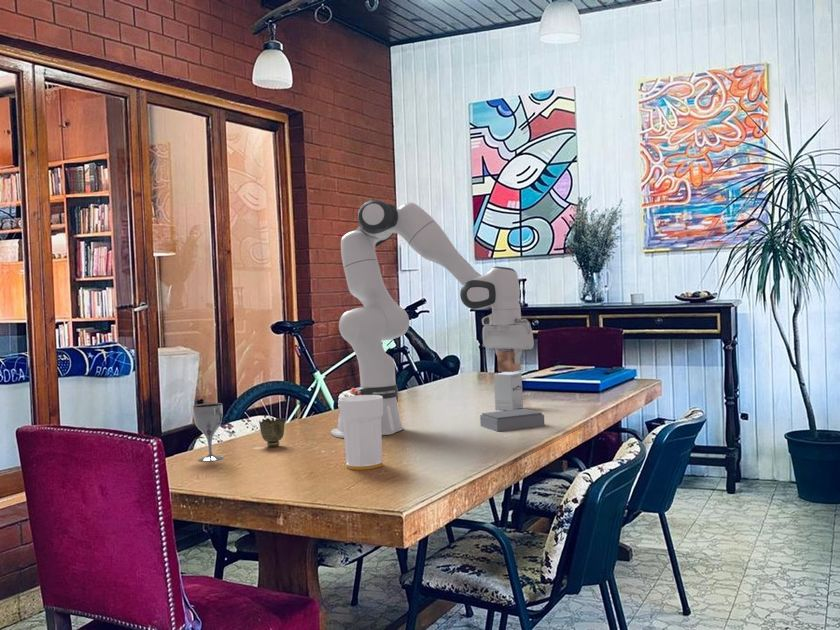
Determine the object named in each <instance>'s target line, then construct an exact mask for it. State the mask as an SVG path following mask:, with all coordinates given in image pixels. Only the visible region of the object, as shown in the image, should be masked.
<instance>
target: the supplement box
mask: <svg viewBox="0 0 840 630" xmlns="http://www.w3.org/2000/svg"><path fill="white" fill-rule="evenodd" d="M522 378H523V377H522V372H520V371H519V372H518V371H513V372H499V373H495V374H493V386H494V387H493V388H494V389H493V390H494V409H495V410H496V411H507V410H516V409H524V408H523V407H524V406H523V405H524V404H523V403H524V402H523V401H524V400H523V382H522V381H523V379H522Z"/></svg>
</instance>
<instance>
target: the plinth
mask: <svg viewBox="0 0 840 630" xmlns="http://www.w3.org/2000/svg"><path fill="white" fill-rule="evenodd" d="M479 421H480V427H482V428H485V429H488V430H491V431H495V432H503V431H505V432H506V431H510V430H521V429H527V428H528V429H529V428H530V429H531V428H537V427H544V426H546V425H545V414H543V413H542V412H540V411H536V410H533V409H527V408H519V409H515V410H497V411H492V412H482V414H480V416H479Z"/></svg>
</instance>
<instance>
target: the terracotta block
mask: <svg viewBox="0 0 840 630" xmlns="http://www.w3.org/2000/svg"><path fill="white" fill-rule="evenodd" d="M496 357H497V371H498V372H499V373H504V372H518V371H519V372H520V371H522V369H521V368H522V365H521V363H522V361H520V364H513V360H512V358H514V357H515V353H514V350H503V351H502V352H497V355H496Z"/></svg>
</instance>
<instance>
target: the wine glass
mask: <svg viewBox="0 0 840 630" xmlns="http://www.w3.org/2000/svg"><path fill="white" fill-rule="evenodd" d="M192 414H193V415H192V416H193V420H194V424H195V426H196V428H197V429H198V430H199V431H200V432H201V433H202V434H203V435H204V436H205V438H206V440H207V445H208V454H207V455H206V456H204V457H201V458H198V459H197V461H198V462H202V463H203V462H205V463H206V462H217V461H221V460H223V459H224V458H225V456H223V455H215V454H213V452H212V451H213V450H212V448H213V447H212V444H213V443H212V442H213V437H214V435H215V433H216V432H217V430H218V429H219V428H220V426H221V425H222V421H223V403H221V402H209V403H208V402H207V403H199V404H195V405H192Z"/></svg>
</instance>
